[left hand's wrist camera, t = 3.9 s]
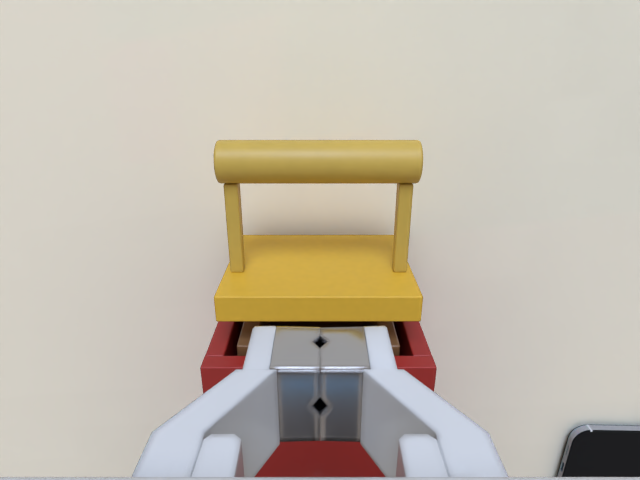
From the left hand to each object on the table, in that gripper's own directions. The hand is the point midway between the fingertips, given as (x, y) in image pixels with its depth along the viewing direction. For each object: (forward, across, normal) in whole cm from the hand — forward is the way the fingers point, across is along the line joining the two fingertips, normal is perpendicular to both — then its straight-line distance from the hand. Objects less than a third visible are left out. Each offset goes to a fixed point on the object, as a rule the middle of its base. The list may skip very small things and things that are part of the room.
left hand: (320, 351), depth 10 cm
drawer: (+15, 0, -8) cm, 17 cm away
